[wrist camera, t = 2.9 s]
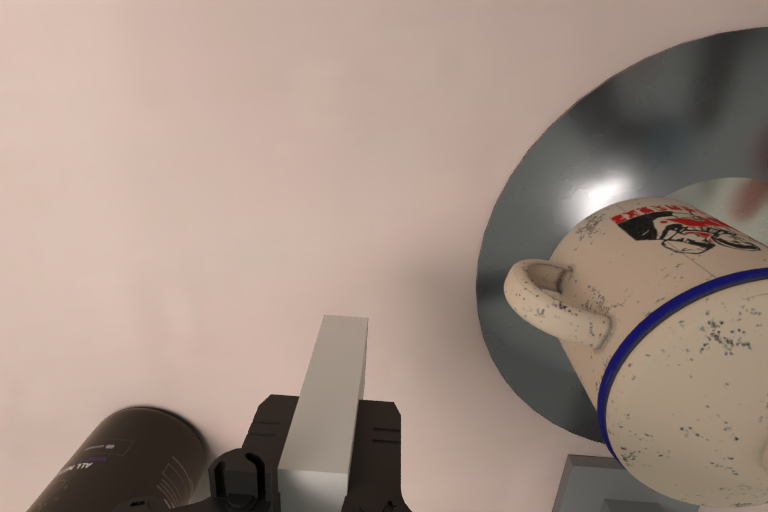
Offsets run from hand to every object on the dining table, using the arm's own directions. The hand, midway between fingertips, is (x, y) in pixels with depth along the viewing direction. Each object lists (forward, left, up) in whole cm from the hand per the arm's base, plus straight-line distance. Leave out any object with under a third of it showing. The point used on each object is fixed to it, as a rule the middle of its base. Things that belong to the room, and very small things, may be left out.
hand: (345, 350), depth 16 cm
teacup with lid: (0, +12, -8) cm, 14 cm away
